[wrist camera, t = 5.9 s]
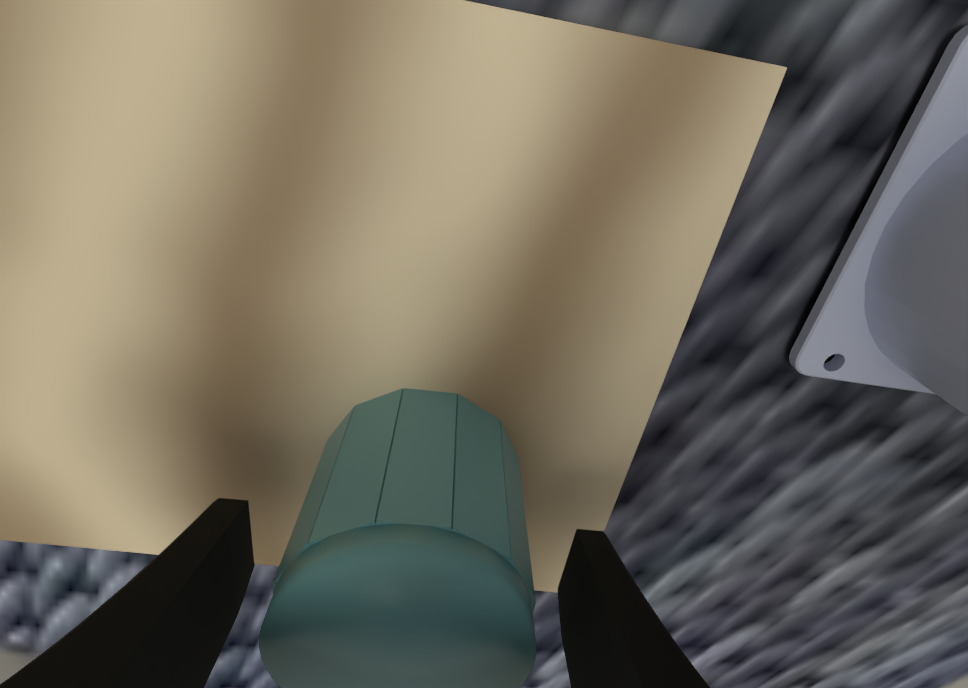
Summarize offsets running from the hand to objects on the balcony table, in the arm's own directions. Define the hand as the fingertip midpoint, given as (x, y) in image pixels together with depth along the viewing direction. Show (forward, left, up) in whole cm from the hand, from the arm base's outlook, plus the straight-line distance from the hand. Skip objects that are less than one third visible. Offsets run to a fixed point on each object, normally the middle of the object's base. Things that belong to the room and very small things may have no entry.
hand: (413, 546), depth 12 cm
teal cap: (0, 0, -3) cm, 3 cm away
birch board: (+4, -3, -4) cm, 6 cm away
